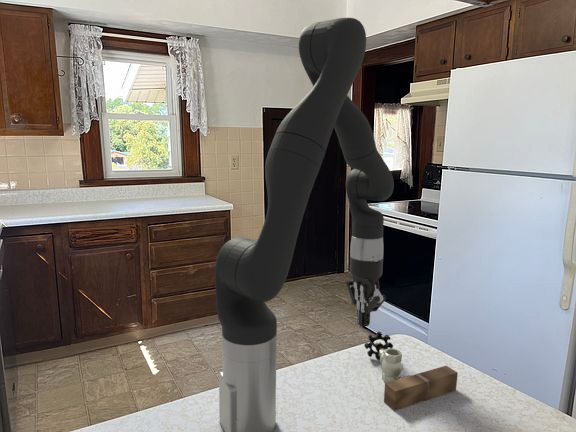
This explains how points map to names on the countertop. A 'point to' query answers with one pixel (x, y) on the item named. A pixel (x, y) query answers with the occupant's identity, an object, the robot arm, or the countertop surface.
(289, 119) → the robot arm
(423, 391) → the bar
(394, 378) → the valve
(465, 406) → the countertop surface
